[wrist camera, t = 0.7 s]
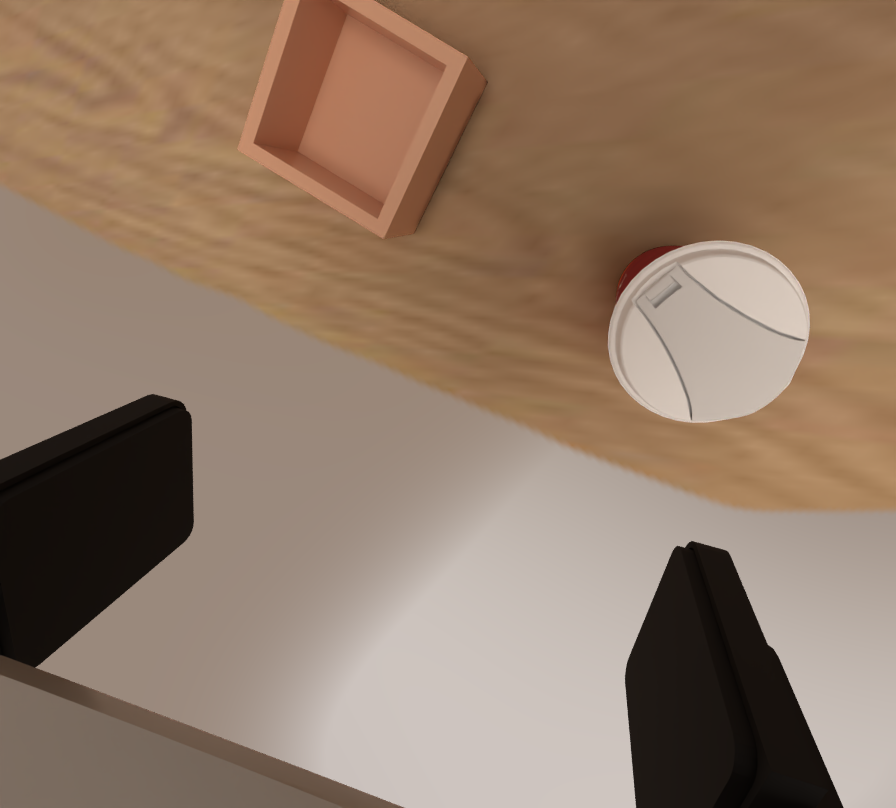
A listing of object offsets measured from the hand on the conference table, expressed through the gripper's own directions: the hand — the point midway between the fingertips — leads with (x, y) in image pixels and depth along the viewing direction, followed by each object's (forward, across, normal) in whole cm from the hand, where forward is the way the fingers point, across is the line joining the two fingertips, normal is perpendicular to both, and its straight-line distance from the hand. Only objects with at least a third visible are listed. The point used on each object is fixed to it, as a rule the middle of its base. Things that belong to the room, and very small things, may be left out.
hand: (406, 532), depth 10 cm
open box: (+28, +12, -9) cm, 32 cm away
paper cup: (+28, -8, -2) cm, 30 cm away
